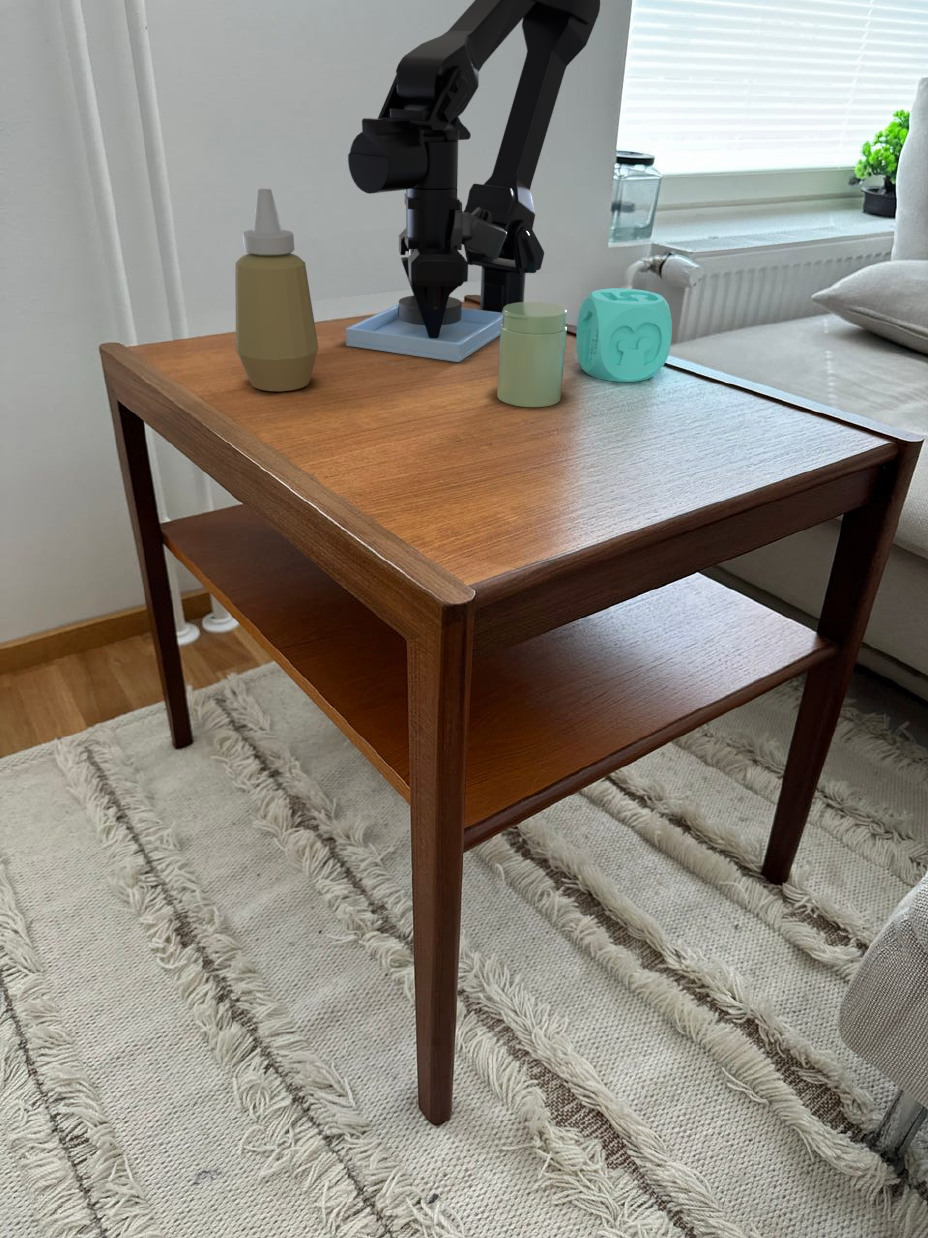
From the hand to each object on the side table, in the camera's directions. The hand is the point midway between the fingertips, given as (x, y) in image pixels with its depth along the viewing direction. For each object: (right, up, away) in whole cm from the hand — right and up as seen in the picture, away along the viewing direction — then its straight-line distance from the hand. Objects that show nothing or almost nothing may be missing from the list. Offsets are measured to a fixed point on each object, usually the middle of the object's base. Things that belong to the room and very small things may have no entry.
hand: (430, 329), depth 108 cm
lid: (0, +2, -2) cm, 3 cm away
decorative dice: (+21, -8, -9) cm, 24 cm away
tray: (0, -1, +1) cm, 1 cm away
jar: (+11, -13, -18) cm, 24 cm away
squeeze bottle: (-15, -11, -17) cm, 25 cm away
